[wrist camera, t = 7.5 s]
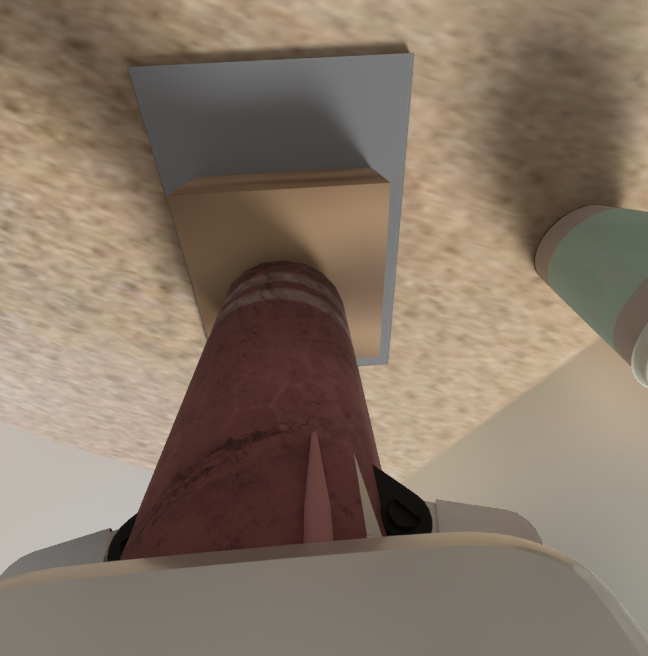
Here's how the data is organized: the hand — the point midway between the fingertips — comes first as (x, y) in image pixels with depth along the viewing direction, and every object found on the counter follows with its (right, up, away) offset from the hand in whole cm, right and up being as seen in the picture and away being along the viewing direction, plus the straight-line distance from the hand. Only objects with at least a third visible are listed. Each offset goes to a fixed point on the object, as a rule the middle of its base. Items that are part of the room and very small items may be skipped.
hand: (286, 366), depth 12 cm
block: (-1, +6, +9) cm, 11 cm away
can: (-1, +3, +5) cm, 6 cm away
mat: (-1, +7, +10) cm, 12 cm away
